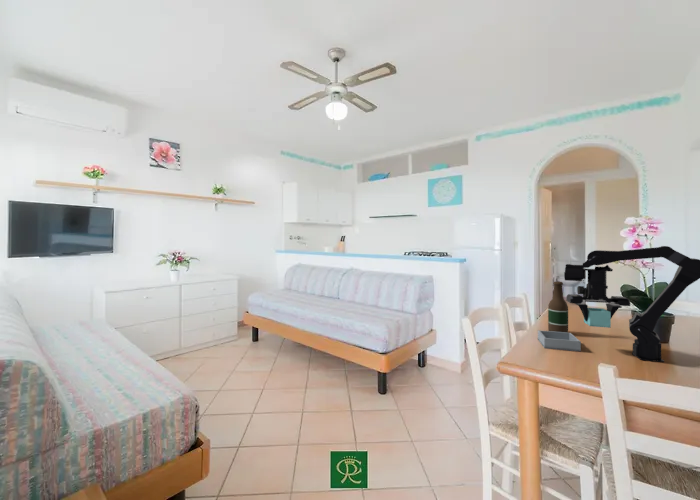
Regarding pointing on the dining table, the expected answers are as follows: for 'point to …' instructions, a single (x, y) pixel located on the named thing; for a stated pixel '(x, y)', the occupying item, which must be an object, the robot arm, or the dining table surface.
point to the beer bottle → (558, 310)
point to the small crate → (598, 317)
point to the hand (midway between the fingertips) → (596, 321)
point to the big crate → (559, 341)
